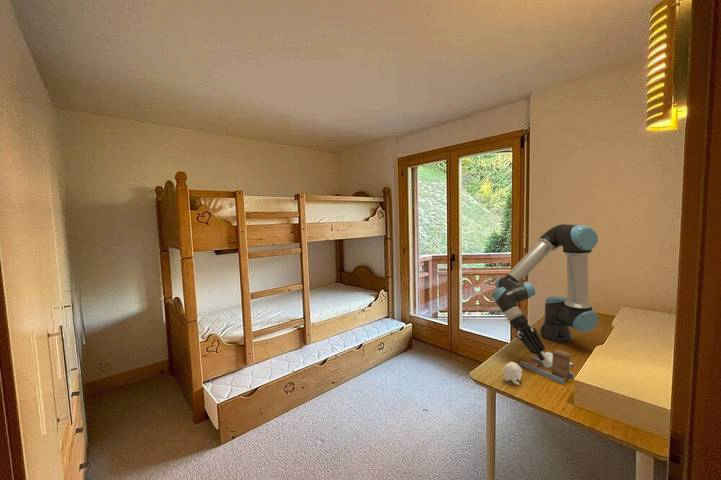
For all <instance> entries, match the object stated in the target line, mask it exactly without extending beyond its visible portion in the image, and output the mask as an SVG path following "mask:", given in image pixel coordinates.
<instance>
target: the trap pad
mask: <svg viewBox="0 0 721 480" xmlns="http://www.w3.org/2000/svg"><path fill="white" fill-rule="evenodd" d="M526 362H527V363H529V364H531V365H533V366H536V367H539V366H540V365H539V364H537V363H535V362H533V361H530V360H528V361H526Z"/></svg>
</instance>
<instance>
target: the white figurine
mask: <svg viewBox="0 0 721 480" xmlns="http://www.w3.org/2000/svg"><path fill="white" fill-rule="evenodd" d="M502 373H503V375H504V377H503V379H504V381H506V382H510V381H511V382H512V383H513V384H514V385H517V386H520V382H521V379H522V376H523V375H524V374H523V369H522V366H521V365H520V364H518V363H517V362H514V361H509V362H507V363H506V364H505V365H504V367H503V368H502ZM517 380H518V381H517Z"/></svg>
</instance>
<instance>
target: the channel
mask: <svg viewBox="0 0 721 480" xmlns="http://www.w3.org/2000/svg"><path fill="white" fill-rule="evenodd" d="M529 357H530V359H529V361H533V362H535V363H537V364H539V366H542V367H544V368H546V367H545V366H544V364H543V363H542V361H541V360H540V359H539V357H537V356H536V357H535V356H532V355H531V356H529ZM527 362H528V361H525V360H520V364H519V366H520V367H524V368H525V369H528V370H530V371H532V372H534V373H536V374H539V375H540V376H543V377H545V378H547V379H549V380H551V381H554V382H556V383H558V384H560V385H565V383H566V382H565V379H563V378H560V377H558V376H556V375H554V374H552V372H549V371H547V370H544V369H542V368H540V367H539V366H537V367H536V366H533V365H531V364H529V363H527ZM548 370H551V371H552V366H551V367H549V368H548ZM569 378H570V379H574V378H575V373H574V372H571V371H569ZM569 378H568V379H569Z"/></svg>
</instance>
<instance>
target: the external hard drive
mask: <svg viewBox="0 0 721 480" xmlns="http://www.w3.org/2000/svg"><path fill="white" fill-rule="evenodd" d="M544 353H545V354H546V356H547V357H548V359H549V360H550V362H551V363H552V360H553V353H552V352H550V351H546V352H545V351H544ZM536 358H539V357H538V356H537V355H536ZM574 366H575V365H574V363H573V362H571V361H570V366H569V368H570V367H574Z"/></svg>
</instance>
